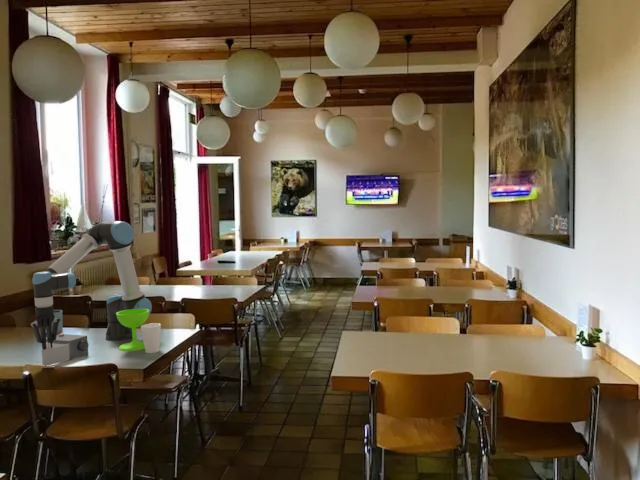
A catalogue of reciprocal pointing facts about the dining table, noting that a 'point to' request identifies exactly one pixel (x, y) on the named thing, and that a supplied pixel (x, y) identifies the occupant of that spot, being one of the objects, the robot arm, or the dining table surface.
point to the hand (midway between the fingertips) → (47, 356)
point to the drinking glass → (58, 315)
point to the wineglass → (132, 326)
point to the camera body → (73, 344)
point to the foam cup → (151, 337)
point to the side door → (56, 354)
